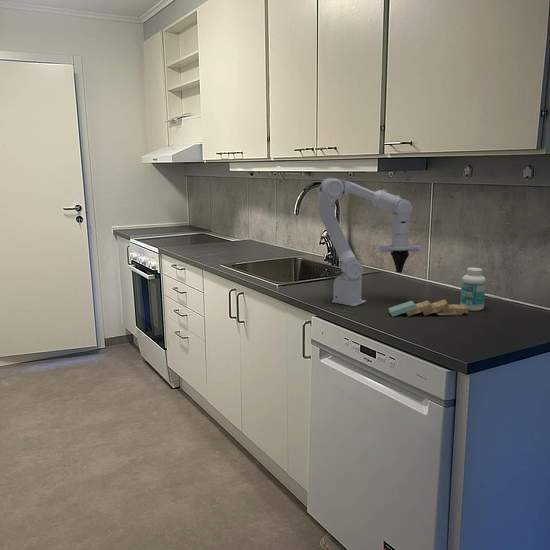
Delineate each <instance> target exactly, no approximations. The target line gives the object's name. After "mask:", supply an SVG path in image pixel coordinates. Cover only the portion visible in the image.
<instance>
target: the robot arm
mask: <svg viewBox="0 0 550 550" xmlns="http://www.w3.org/2000/svg"><path fill="white" fill-rule="evenodd" d="M317 192H318V193H317V202H316V211H317V213H318V215H319V217H320V220H321V221H322V223H323V226H324V228H325V230H326V232H327V234H328V236H329V238H330V241H331V243H332V244H333V247H334V249H335V252H336V254H337V258H338V260H339V268H340V271H341V272H342V273H341V275H338V276H337V277H335V279H334V280H333V285H332V286H333V288H332V289H333V293H332V295H333V298H332V301H331V303H334V304H340V305H341V304H342V305H346V306H351V307H357V306H359V305H361V304H365V303H366V302H367V300H366V299H362V287H363V286H362V283H363V280H362V279H363V277H362V275H363V274H364V265H363V264H362V263H361V262H360V261H358V260H357V257H356V255H355V254H354V253H353V252H354V251H352V248H351V247H350V245H349V242H348V240H347V237H346V235H345V234H344V231H343V230H342V227H341V225H340V223H339V220H338V219H337V217H336V214H335V213H334V210H333V208H334V206H335V204H336V201H337V200H338V199H339V198H340V197H341V196H342V195H349V194H351V195H354V196H357V197H361V198H362V199H366V200H369V201H371V204H372V205H373V206H374V207H376V208H378V209H381V210H384V211H387V212H388V213H392V221H391V223H392V224H391V245H381V246H380V245H379V246H378V252H379V253H390V255H391V257H392V261H393V262H394V266H395V272H396V273H397V274H401V273H403V268H404V265H405V263H406V262H407V259H408V258H409V256H410V252H417V253H419V252H422V245H415V244H409V240H410V239H409V237H410V216H411V214H412V212H413V209H414V207H413V205H412V203H411V201H410V200H409V199H405V198H402V197H400V195H398V194H396V195H395V194H392V193H388V190H386V189H382V190H381V189H379V190H376V191H373V190H370V189H369V188H367V187H364V186H361V185H359V184H357V183H354V182H352V181H347V180H343V179H342V180H341V179H339V178H334V177H326V178H324V179H323V180H322V182H321V183H320V185H319V187H318V189H317Z"/></svg>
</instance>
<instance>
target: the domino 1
mask: <svg viewBox="0 0 550 550" xmlns="http://www.w3.org/2000/svg"><path fill="white" fill-rule="evenodd" d="M415 304H416V303H415V302H414V301H413V300H409V301H407V302H404V303H400V304H397V305H394V306H391V307H389V308H388V312H389V314H390V316H391V317H396V316H399V315H401V314H406V313H405V312H408V311H411V310H415V309H417V308H416V305H415Z"/></svg>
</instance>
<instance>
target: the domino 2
mask: <svg viewBox="0 0 550 550" xmlns="http://www.w3.org/2000/svg"><path fill="white" fill-rule="evenodd" d="M431 304H432V303H430V301H429V300H425V301H421V302H418V303H415V305H416V308H417V309H415V310H411V311H408V312H405V313H404V314H406V316H407V317H410V316H413V315H416V314H419V313H423V311H426V310H429V309H432V306H431Z"/></svg>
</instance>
